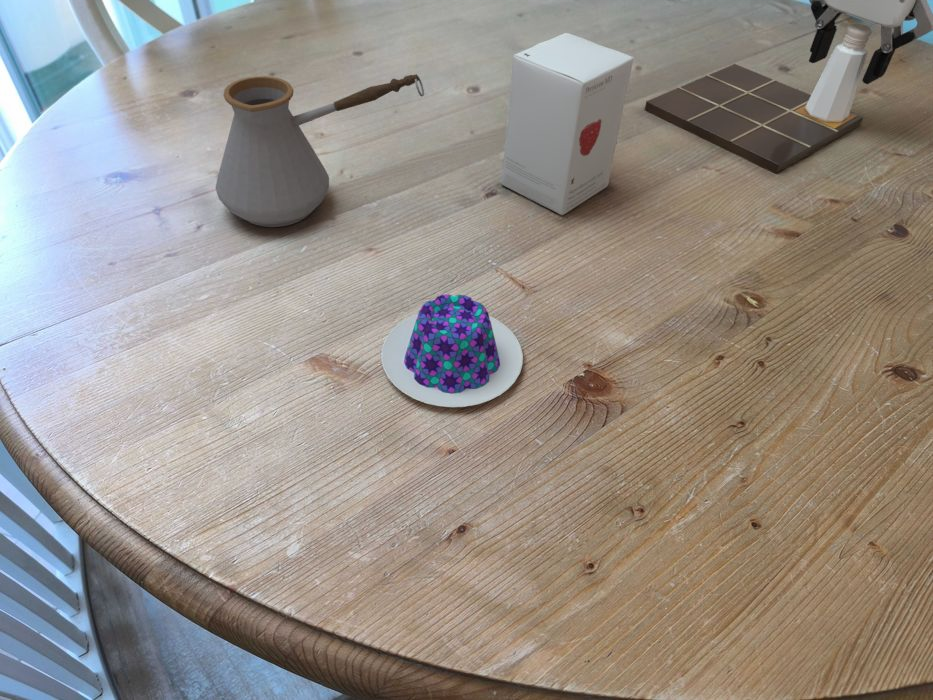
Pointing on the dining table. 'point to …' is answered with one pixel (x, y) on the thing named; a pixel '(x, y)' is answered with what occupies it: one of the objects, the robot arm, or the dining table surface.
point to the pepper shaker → (840, 77)
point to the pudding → (452, 354)
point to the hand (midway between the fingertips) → (843, 69)
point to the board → (750, 116)
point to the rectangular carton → (564, 120)
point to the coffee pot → (278, 151)
